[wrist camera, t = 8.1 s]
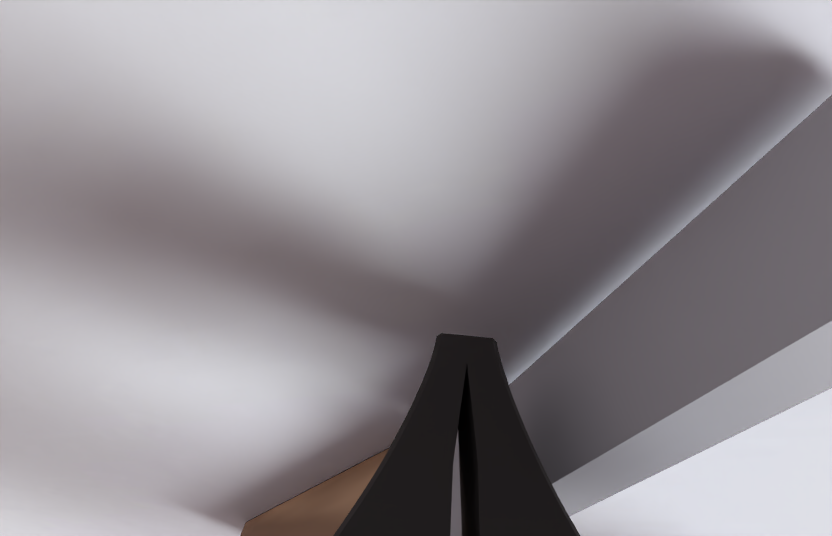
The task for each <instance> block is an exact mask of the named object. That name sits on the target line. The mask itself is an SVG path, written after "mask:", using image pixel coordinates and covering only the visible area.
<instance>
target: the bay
mask: <svg viewBox="0 0 832 536" xmlns="http://www.w3.org/2000/svg"><path fill="white" fill-rule="evenodd" d="M457 432H458V431H457ZM388 450H389V448H388V449H387V450H385V451H383V452H381V453H379V454H377V455H375V456H373V457H371V458H369V459H367V460H365V461H363V462H362V463H360V464H358V465H356V466H354V467H352V468H350V469H348V470H346V471H344V472H342V473H340V474H338V475H336V476H335V477H333V478H331V479H329V480H327V481H325V482H323V483H321V484H319V485H317V486H315V487H313V488H311V489H309V490H308V491H306V492H304V493H302V494H300V495H298V496H296V497H294V498H292V499H290V500H288V501H286V502H284V503H283V504H281V505H279V506H277V507H275V508H273V509H271V510H269V511H267V512H265V513H263V514H261V515H259V516H257V517H256V518H254V519H252V520H250V521H248V522H246V523H245V526H244V528H243V530H242V533H241V535H240V536H333V535H334V534H335V532H336V531H337V530H338V528H339V527H340V525H341V524H342V522H343V521H344V519H345V518H346V516H347V515H348V513H349V512H350V511H351V509H352V508H353V506H354V505H355V503H356V502H357V500H358V499H359V497H360V496H361V494H362V493H363V491H364V489H365V488H366V486H367V485H368V483H369V482H370V480H371V478H372V477H373V475H374V474H375V472H376V470H377V469H378V467H379V465H380V464H381V462H382V460H383V459H384V457H385V455H386V453H387V452H388Z"/></svg>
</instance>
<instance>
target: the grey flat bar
mask: <svg viewBox="0 0 832 536" xmlns="http://www.w3.org/2000/svg"><path fill="white" fill-rule="evenodd" d="M509 388H510V391H511V393H512V396H513V399H514V401H515V404H516V406H517V409H518V411H519V414H520V416H521V418H522V421H523V423H524V426H525V428H526V431H527V433H528V435H529V437H530V440H531V442H532V444H533V446H534V448H535V451H536V453H537V455H538V457H539V459H540V461H541V463H542V465H543V467H544V470H545V472H546V474H547V476H548V478H549V480H550V482H551V484H552V485H553V487H554V489H555V491H556V493H557V495H558V497H559V499H560V501H561V502H562V504H563V506H564V508H565V510H566V512H567V513H568V515H569V516H571V515H573V514H575V513H577V512H579V511H581V510H583V509H585V508H587V507H589V506H592V505H594V504H596V503H598V502H600V501H602V500H604V499H606V498H608V497H610V496H612V495H614V494H616V493H618V492H620V491H622V490H624V489H626V488H628V487H630V486H632V485H634V484H636V483H638V482H641V481H643V480H645V479H647V478H649V477H651V476H653V475H655V474H657V473H659V472H661V471H663V470H665V469H667V468H669V467H671V466H673V465H675V464H677V463H679V462H681V461H683V460H685V459H688V458H690V457H692V456H694V455H696V454H698V453H700V452H702V451H704V450H706V449H708V448H710V447H712V446H714V445H716V444H718V443H720V442H722V441H724V440H726V439H728V438H730V437H732V436H735V435H737V434H739V433H741V432H743V431H745V430H747V429H749V428H751V427H753V426H755V425H757V424H759V423H761V422H763V421H765V420H767V419H769V418H771V417H773V416H775V415H777V414H779V413H781V412H784V411H786V410H788V409H790V408H792V407H794V406H796V405H798V404H800V403H802V402H804V401H806V400H808V399H810V398H812V397H814V396H816V395H818V394H820V393H822V392H824V391H826V390H828V389H831V388H832V95H831V96H830V97H829V98H828V99H827V100H826V101H825V102H823V103H822V104H821V105H820V106H819V107H818V108H817V109H816V110H815V111H813V112H812V113H811V114H810V115H809V116H808V117H807V118H806V119H805V120H803V121H802V122H801V123H800V124H799V125H798V126H797V127H796V128H795V129H793V130H792V131H791V132H790V133H789V134H788V135H787V136H786V137H785V138H783V139H782V140H781V141H780V142H779V143H778V144H777V145H776V146H775V147H773V148H772V149H771V150H770V151H769V152H768V153H767V154H766V155H765V156H763V157H762V158H761V159H760V160H759V161H758V162H757V163H756V164H755V165H753V166H752V167H751V168H750V169H749V170H748V171H747V172H746V173H745V174H743V175H742V176H741V177H740V178H739V179H738V180H737V181H736V182H735V183H733V184H732V185H731V186H730V187H729V188H728V189H727V190H726V191H725V192H723V193H722V194H721V195H720V196H719V197H718V198H717V199H716V200H715V201H713V202H712V203H711V204H710V205H709V206H708V207H707V208H706V209H705V210H703V211H702V212H701V213H700V214H699V215H698V216H697V217H696V218H695V219H693V220H692V221H691V222H690V223H689V224H688V225H687V226H686V227H685V228H683V229H682V230H681V231H680V232H679V233H678V234H677V235H676V236H675V237H673V238H672V239H671V240H670V241H669V242H668V243H667V244H666V245H665V246H663V247H662V248H661V249H660V250H659V251H658V252H657V253H656V254H654V255H653V256H652V257H651V258H650V259H649V260H648V261H647V262H646V263H644V264H643V265H642V266H641V267H640V268H639V269H638V270H637V271H636V272H634V273H633V274H632V275H631V276H630V277H629V278H628V279H627V280H626V281H624V282H623V283H622V284H621V285H620V286H619V287H618V288H617V289H616V290H614V291H613V292H612V293H611V294H610V295H609V296H608V297H607V298H606V299H604V300H603V301H602V302H601V303H600V304H599V305H598V306H597V307H596V308H594V309H593V310H592V311H591V312H590V313H589V314H588V315H587V316H586V317H584V318H583V319H582V320H581V321H580V322H579V323H578V324H577V325H576V326H574V327H573V328H572V329H571V330H570V331H569V332H568V333H567V334H566V335H564V336H563V337H562V338H561V339H560V340H559V341H558V342H557V343H556V344H554V345H553V346H552V347H551V348H550V349H549V350H548V351H547V352H546V353H544V354H543V355H542V356H541V357H540V358H539V359H538V360H537V361H536V362H534V363H533V364H532V365H531V366H530V367H529V368H528V369H527V370H526V371H524V372H523V373H522V374H521V375H520V376H519V377H518V378H517V379H516V380H514V381H513V382H512V383H511V384H510V385H509ZM450 536H462V524H461V498H460V471H459V445H458V432H457V438H456V445H455V453H454V461H453V479H452V504H451V531H450Z"/></svg>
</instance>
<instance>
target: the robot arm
mask: <svg viewBox="0 0 832 536" xmlns="http://www.w3.org/2000/svg"><path fill="white" fill-rule="evenodd" d="M457 431H458V445H459V471H460V498H461V524H462V536H580V535H579V533H578V531H577V529H576V528H575V526H574V524H573V522H572V521H571V519H570V517H569V515H568V513H567V512H566V510H565V508H564V506H563V504H562V502H561V501H560V499H559V497H558V495H557V493H556V491H555V489H554V487H553V485H552V484H551V482H550V480H549V478H548V476H547V474H546V472H545V470H544V467H543V465H542V463H541V461H540V459H539V457H538V455H537V453H536V451H535V448H534V446H533V444H532V442H531V440H530V437H529V435H528V433H527V431H526V428H525V426H524V423H523V421H522V418H521V416H520V414H519V411H518V409H517V406H516V404H515V401H514V399H513V396H512V393H511V391H510V388H509V385H508V382H507V379H506V376H505V373H504V370H503V366H502V363H501V359H500V356H499V352H498V347H497V342H496V341H495V340H494V339H493V338H485V337H474V336H464V335H454V334H443V333H441V334H440V335H438V336H437V338H436V343H435V347H434V351H433V354H432V358H431V361H430V364H429V366H428V369H427V372H426V374H425V377H424V379H423V382H422V384H421V386H420V388H419V391H418V393H417V395H416V397H415V400H414V402H413V404H412V406H411V408H410V410H409V412H408V414H407V416H406V418H405V420H404V422H403V424H402V426H401V428H400V430H399V431H398V433H397V435H396V437H395V439H394V441H393V443H392V445H391V446H390V448H389V450H388V452H387V453H386V455H385V457H384V459H383V460H382V462H381V464H380V465H379V467H378V469H377V470H376V472H375V474H374V475H373V477H372V478H371V480H370V482H369V483H368V485H367V486H366V488H365V489H364V491H363V493H362V494H361V496H360V497H359V499H358V500H357V502H356V503H355V505H354V506H353V508H352V509H351V511H350V512H349V513H348V515H347V516H346V518H345V519H344V521H343V522H342V524H341V525H340V527H339V528H338V530H337V531H336V532H335V534H334V535H333V536H450V531H451V504H452V479H453V461H454V453H455V445H456V438H457Z"/></svg>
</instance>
